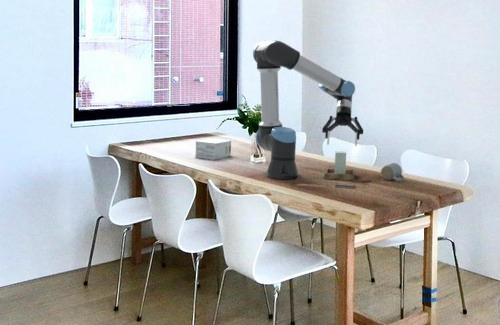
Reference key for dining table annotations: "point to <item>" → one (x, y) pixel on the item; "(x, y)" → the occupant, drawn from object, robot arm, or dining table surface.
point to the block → (340, 162)
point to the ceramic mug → (392, 172)
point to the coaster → (344, 186)
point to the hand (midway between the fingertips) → (341, 143)
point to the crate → (339, 175)
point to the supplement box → (213, 148)
